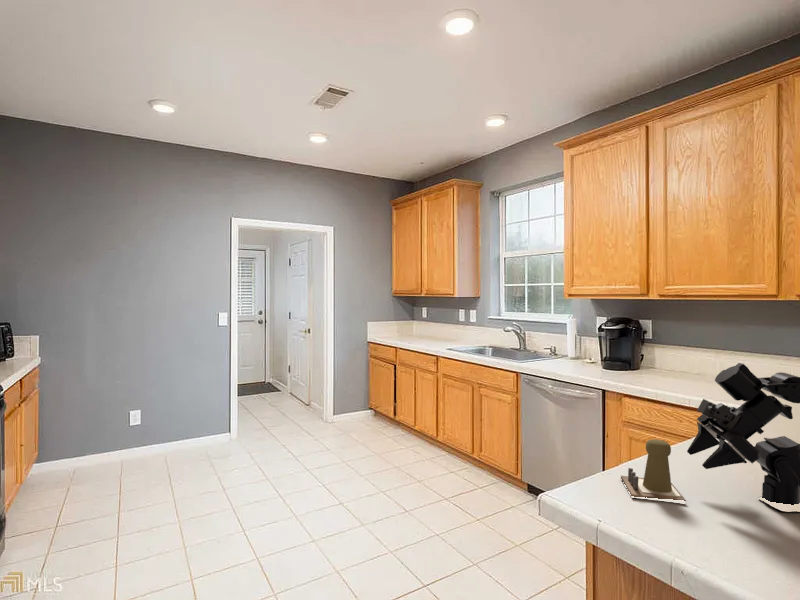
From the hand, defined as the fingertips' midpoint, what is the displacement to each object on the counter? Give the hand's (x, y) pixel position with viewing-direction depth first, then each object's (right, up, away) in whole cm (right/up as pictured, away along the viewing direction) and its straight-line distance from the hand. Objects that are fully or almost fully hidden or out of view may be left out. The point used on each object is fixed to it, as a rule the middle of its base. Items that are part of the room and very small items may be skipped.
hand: (695, 459), depth 105 cm
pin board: (-9, -8, +2) cm, 13 cm away
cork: (-8, -7, +2) cm, 11 cm away
